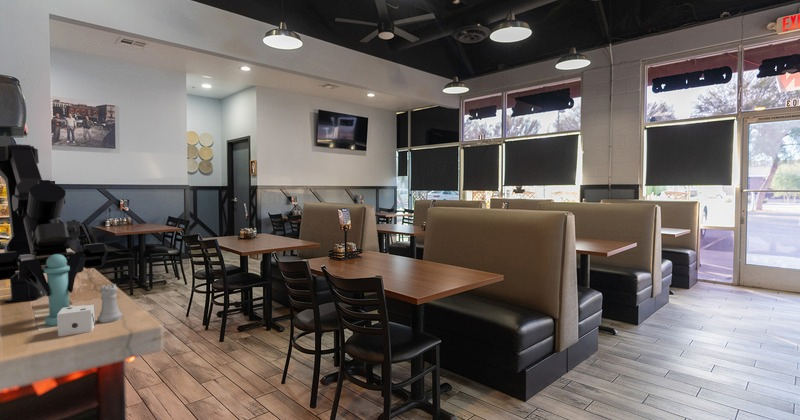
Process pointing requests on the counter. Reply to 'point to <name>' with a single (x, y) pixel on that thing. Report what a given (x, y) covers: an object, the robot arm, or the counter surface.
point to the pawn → (57, 286)
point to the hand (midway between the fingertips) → (60, 293)
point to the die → (76, 320)
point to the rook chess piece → (109, 304)
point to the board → (43, 315)
